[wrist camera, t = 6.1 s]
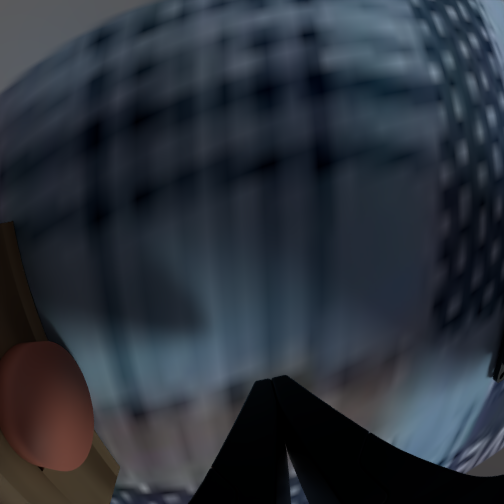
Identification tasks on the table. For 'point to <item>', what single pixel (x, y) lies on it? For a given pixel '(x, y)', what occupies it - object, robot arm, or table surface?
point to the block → (3, 456)
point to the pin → (45, 406)
